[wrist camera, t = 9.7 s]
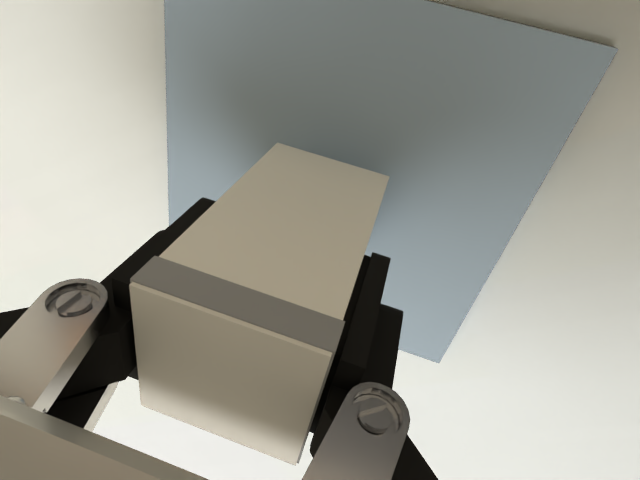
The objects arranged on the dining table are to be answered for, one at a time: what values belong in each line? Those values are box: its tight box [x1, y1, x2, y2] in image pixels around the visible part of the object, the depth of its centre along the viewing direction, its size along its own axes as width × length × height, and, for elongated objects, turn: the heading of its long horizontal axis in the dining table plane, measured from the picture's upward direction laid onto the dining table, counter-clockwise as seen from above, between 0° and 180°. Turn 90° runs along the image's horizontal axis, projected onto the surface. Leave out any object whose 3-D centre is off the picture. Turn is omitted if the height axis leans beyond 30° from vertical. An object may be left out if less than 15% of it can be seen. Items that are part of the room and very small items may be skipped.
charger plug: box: [129, 143, 390, 466], centre depth 12 cm, size 4×4×8 cm
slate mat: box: [164, 0, 618, 363], centre depth 17 cm, size 14×14×1 cm
